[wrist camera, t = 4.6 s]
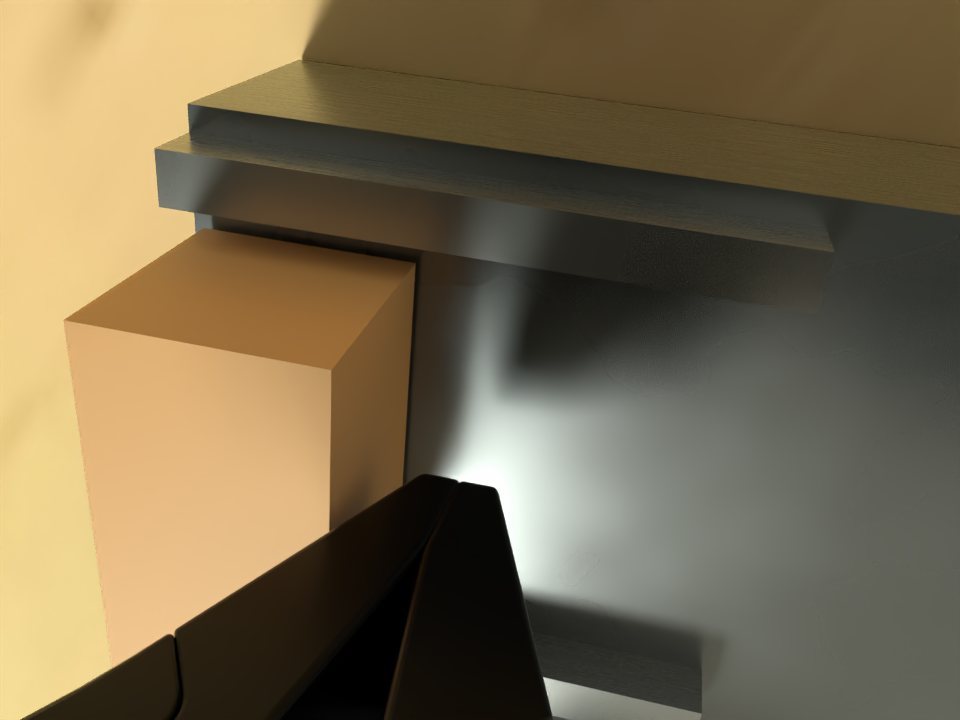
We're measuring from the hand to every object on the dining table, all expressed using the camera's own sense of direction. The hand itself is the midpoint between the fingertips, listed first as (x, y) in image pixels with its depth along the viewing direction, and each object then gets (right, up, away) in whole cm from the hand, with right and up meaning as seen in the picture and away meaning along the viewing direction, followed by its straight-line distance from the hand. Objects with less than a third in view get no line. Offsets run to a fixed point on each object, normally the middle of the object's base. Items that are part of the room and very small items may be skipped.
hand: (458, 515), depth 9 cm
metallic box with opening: (+2, -3, +6) cm, 7 cm away
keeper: (-2, +1, +1) cm, 2 cm away
